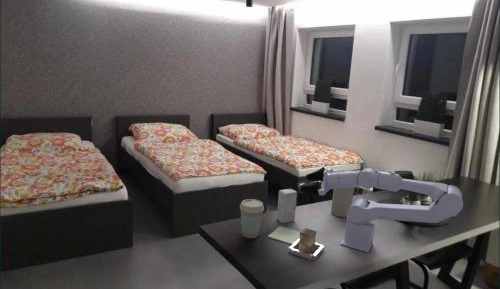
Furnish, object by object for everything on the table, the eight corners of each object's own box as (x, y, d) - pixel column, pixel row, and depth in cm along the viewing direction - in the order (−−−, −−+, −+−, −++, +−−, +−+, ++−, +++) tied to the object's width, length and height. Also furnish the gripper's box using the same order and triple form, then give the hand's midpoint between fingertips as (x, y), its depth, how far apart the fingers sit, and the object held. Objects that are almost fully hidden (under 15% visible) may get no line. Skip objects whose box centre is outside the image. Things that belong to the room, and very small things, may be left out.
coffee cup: (256, 228, 140) (258, 197, 137) (266, 238, 132) (268, 206, 130) (235, 230, 137) (236, 199, 134) (243, 241, 129) (245, 208, 127)
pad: (304, 234, 137) (305, 233, 137) (293, 245, 129) (293, 244, 129) (280, 227, 142) (280, 226, 142) (267, 237, 134) (267, 236, 133)
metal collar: (324, 249, 127) (324, 245, 127) (314, 261, 119) (314, 256, 119) (299, 241, 132) (299, 237, 131) (287, 252, 124) (288, 248, 123)
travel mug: (354, 216, 156) (359, 174, 151) (338, 218, 153) (343, 176, 148) (343, 209, 163) (347, 169, 159) (327, 210, 160) (331, 170, 156)
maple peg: (314, 250, 126) (316, 231, 125) (309, 255, 123) (311, 235, 121) (302, 246, 128) (304, 227, 127) (298, 251, 125) (300, 232, 123)
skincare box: (282, 223, 145) (285, 194, 142) (275, 219, 148) (278, 190, 146) (295, 220, 148) (297, 191, 145) (288, 216, 152) (290, 188, 149)
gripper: (342, 159, 135) (306, 163, 141) (333, 181, 123) (295, 184, 130) (346, 176, 137) (311, 179, 144) (339, 199, 126) (301, 201, 132)
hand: (304, 183), depth 137 cm, fingers open, 7 cm apart
